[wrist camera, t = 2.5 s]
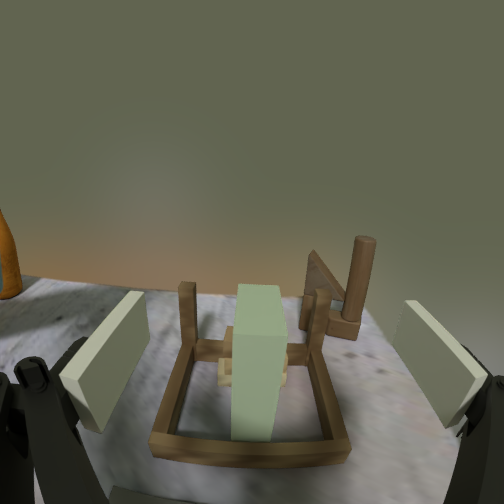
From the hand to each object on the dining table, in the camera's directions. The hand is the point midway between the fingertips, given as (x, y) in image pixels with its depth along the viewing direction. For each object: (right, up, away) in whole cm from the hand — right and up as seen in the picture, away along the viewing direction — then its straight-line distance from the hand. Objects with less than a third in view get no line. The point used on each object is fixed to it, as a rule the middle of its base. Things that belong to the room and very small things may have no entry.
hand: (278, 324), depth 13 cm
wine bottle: (-61, -7, +36) cm, 71 cm away
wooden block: (+13, -11, +36) cm, 40 cm away
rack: (-2, -15, +19) cm, 24 cm away
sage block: (-2, -16, +16) cm, 23 cm away
